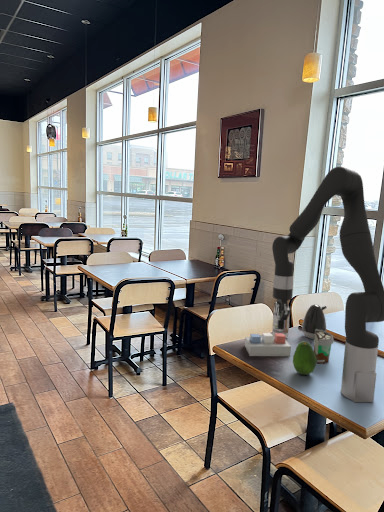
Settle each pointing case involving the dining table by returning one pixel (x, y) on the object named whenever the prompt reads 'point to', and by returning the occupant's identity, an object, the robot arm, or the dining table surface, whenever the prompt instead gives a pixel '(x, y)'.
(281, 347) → the button panel
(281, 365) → the dining table surface
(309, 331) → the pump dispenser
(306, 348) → the avocado
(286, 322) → the bath foam
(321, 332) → the food container
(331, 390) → the dining table surface
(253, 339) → the blue key
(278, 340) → the red key
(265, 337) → the white key
